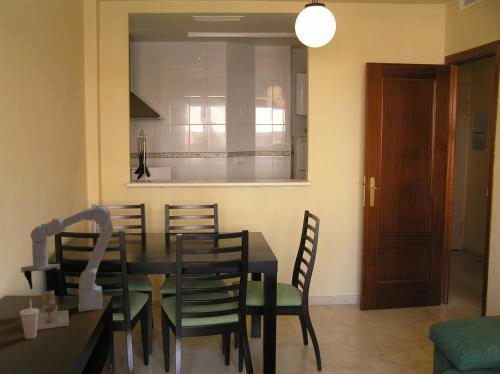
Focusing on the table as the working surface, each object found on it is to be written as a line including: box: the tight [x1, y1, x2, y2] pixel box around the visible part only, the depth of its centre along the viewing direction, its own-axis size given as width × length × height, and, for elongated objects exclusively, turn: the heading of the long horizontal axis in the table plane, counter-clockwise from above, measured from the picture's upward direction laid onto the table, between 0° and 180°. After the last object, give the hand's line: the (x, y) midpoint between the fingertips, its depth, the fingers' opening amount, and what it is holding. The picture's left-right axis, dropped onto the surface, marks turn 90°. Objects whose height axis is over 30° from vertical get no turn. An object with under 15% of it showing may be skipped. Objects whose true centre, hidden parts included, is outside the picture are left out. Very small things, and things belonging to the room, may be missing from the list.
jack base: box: [37, 304, 70, 331], centre depth 181 cm, size 14×14×6 cm
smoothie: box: [19, 298, 40, 340], centre depth 167 cm, size 6×6×14 cm
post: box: [42, 289, 56, 311], centre depth 181 cm, size 4×4×8 cm
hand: (41, 287), depth 191 cm, fingers open, 7 cm apart
